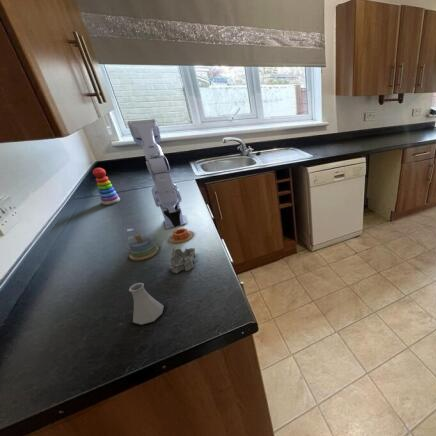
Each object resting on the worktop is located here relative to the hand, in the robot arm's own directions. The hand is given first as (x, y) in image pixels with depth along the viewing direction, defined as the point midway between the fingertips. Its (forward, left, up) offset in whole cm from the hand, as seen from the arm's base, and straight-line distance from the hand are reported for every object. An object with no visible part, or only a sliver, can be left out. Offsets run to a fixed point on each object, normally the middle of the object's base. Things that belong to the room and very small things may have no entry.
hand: (176, 221), depth 106 cm
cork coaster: (0, 0, -7) cm, 7 cm away
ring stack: (+5, -13, -7) cm, 16 cm away
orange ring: (0, 0, -7) cm, 7 cm away
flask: (+40, -12, -7) cm, 42 cm away
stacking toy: (-60, -28, -7) cm, 66 cm away
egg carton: (+20, -1, -7) cm, 21 cm away
